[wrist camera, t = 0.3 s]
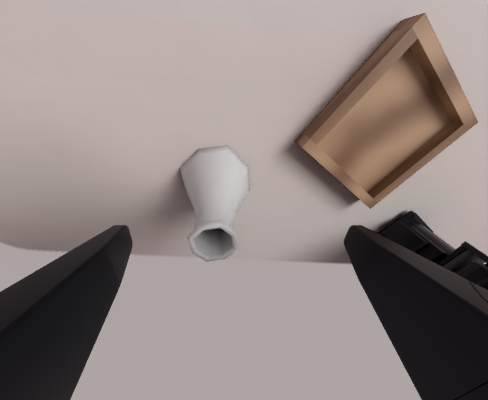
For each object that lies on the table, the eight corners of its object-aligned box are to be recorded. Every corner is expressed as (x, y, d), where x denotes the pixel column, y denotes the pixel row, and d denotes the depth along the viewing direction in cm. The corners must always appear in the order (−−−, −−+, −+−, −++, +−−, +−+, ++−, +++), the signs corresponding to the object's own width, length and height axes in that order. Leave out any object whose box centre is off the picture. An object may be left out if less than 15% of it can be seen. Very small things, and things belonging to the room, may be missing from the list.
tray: (456, 118, 20) (478, 122, 19) (360, 199, 25) (370, 208, 23) (403, 19, 16) (425, 12, 14) (295, 141, 20) (301, 147, 18)
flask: (203, 215, 24) (193, 291, 15) (167, 163, 20) (128, 226, 12) (259, 191, 23) (282, 259, 14) (232, 132, 19) (242, 176, 11)
